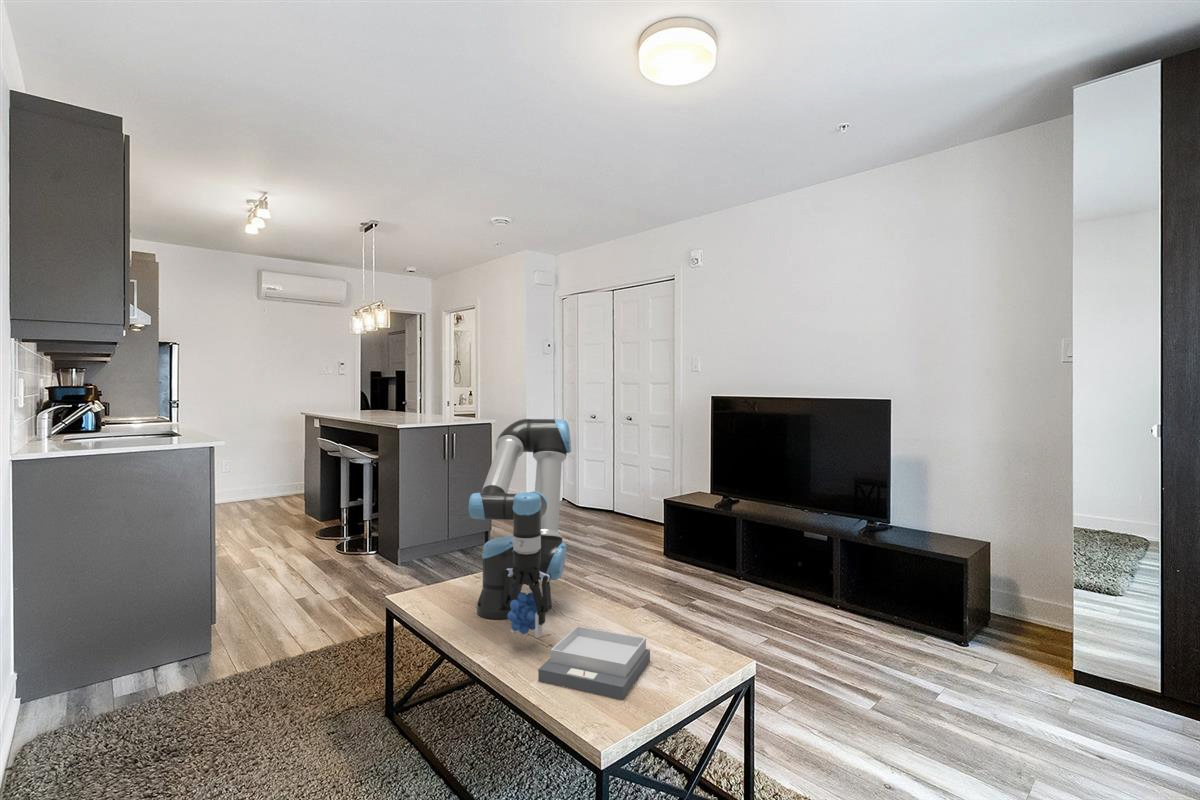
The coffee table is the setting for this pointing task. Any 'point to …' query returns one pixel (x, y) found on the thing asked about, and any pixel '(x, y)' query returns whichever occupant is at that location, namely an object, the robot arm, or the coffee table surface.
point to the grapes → (523, 613)
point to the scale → (596, 662)
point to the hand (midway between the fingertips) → (526, 632)
